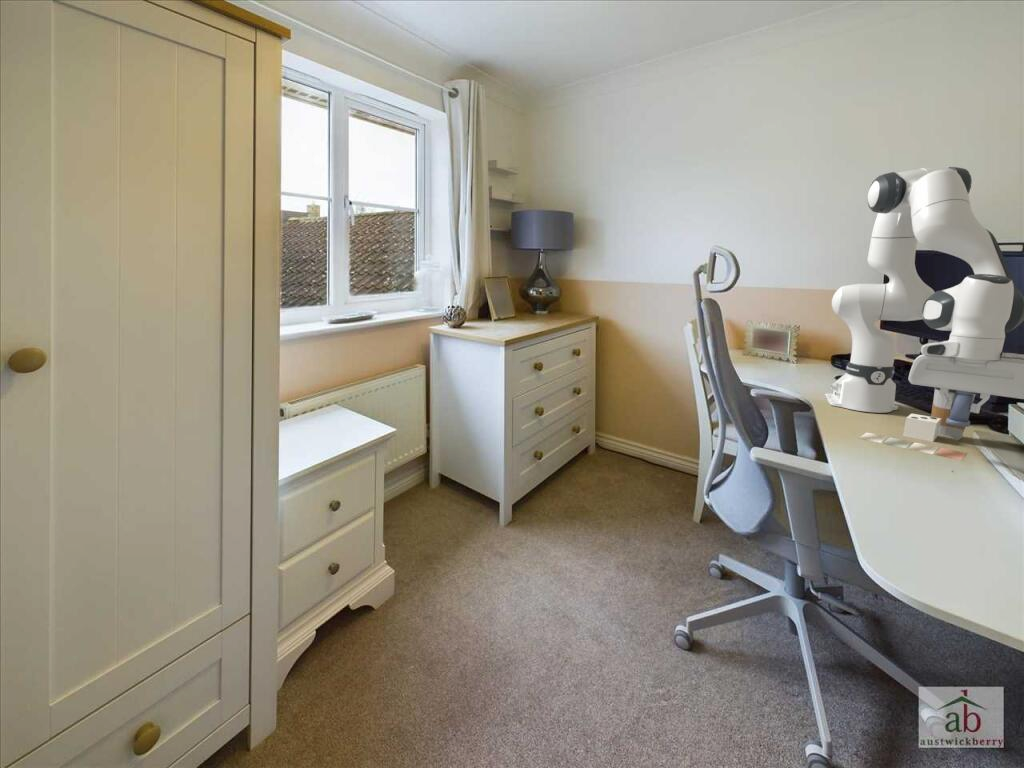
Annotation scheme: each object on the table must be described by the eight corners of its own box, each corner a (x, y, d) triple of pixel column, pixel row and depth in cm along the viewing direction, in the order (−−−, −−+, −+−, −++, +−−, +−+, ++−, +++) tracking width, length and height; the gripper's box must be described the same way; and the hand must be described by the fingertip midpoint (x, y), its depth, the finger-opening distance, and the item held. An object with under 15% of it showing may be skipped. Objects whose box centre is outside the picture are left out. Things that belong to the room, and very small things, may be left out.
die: (901, 439, 126) (906, 417, 124) (907, 435, 130) (911, 413, 128) (931, 446, 121) (936, 422, 120) (936, 440, 125) (941, 418, 124)
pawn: (941, 421, 113) (950, 381, 111) (962, 422, 112) (971, 383, 110) (952, 425, 109) (961, 385, 107) (973, 427, 108) (982, 386, 107)
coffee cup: (933, 430, 134) (944, 377, 130) (972, 439, 127) (985, 383, 123) (918, 434, 130) (929, 380, 127) (957, 444, 123) (970, 386, 119)
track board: (852, 442, 124) (853, 437, 123) (861, 435, 129) (862, 431, 129) (966, 467, 108) (967, 462, 108) (971, 458, 113) (973, 453, 113)
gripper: (1043, 354, 102) (1027, 417, 105) (918, 343, 117) (908, 399, 120) (1041, 357, 98) (1025, 423, 101) (913, 345, 113) (901, 403, 116)
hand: (960, 410), depth 110 cm, fingers closed on pawn, 3 cm apart
